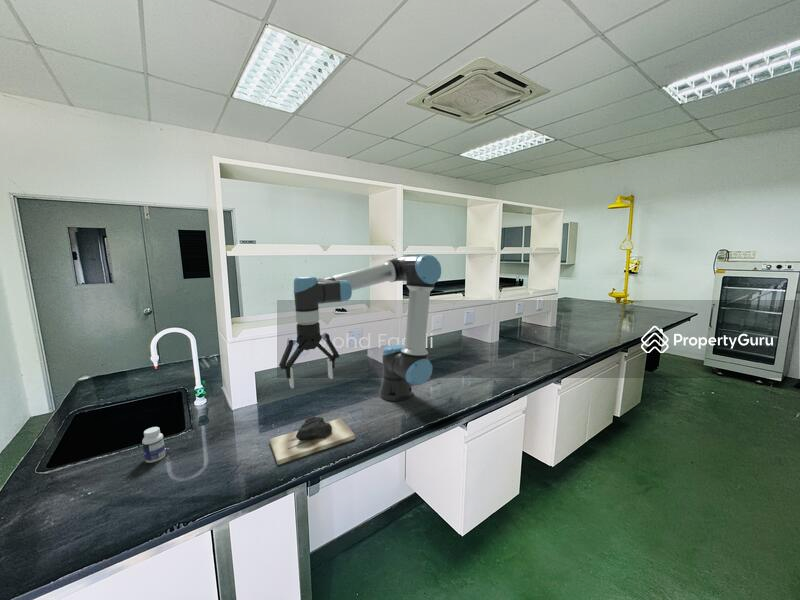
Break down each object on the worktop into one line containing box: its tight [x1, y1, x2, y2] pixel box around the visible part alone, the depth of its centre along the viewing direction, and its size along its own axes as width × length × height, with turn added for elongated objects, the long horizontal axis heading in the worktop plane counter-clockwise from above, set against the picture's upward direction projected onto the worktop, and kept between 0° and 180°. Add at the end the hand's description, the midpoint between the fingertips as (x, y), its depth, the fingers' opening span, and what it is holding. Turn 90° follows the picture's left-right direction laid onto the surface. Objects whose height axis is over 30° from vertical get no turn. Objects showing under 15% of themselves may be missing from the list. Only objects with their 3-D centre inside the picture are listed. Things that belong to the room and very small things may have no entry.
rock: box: [296, 416, 332, 441], centre depth 111 cm, size 10×6×10 cm
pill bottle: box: [141, 426, 166, 464], centre depth 102 cm, size 5×5×10 cm
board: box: [268, 418, 356, 466], centre depth 111 cm, size 26×14×2 cm, turn 122°
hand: (311, 382), depth 110 cm, fingers open, 13 cm apart
